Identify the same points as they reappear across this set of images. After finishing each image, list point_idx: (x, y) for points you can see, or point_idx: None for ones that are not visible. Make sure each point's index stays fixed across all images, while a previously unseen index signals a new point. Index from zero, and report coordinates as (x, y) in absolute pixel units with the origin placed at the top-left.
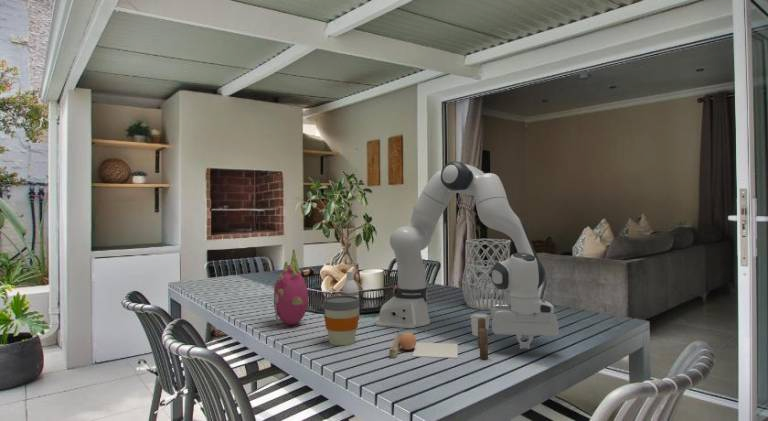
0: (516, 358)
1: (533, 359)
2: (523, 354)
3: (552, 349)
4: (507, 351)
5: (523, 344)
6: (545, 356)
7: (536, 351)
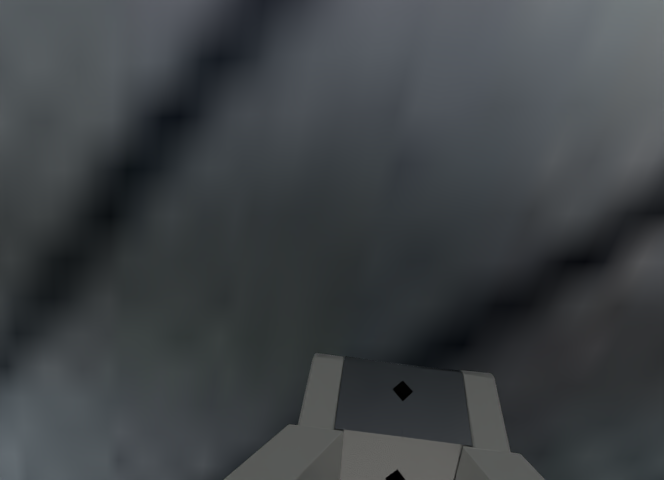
0: (644, 80)
1: (313, 32)
2: (429, 289)
3: (11, 445)
4: (643, 413)
5: (434, 424)
6: (92, 200)
7: (209, 395)
